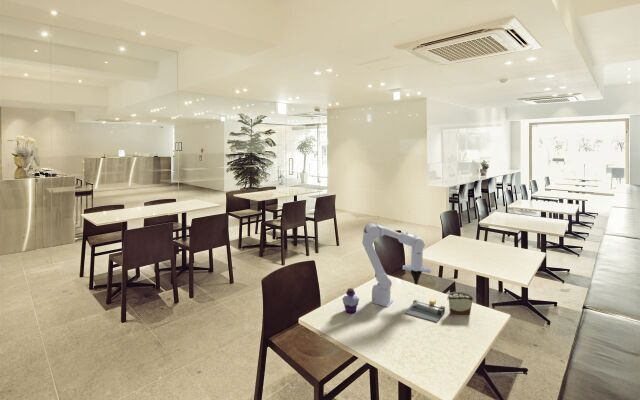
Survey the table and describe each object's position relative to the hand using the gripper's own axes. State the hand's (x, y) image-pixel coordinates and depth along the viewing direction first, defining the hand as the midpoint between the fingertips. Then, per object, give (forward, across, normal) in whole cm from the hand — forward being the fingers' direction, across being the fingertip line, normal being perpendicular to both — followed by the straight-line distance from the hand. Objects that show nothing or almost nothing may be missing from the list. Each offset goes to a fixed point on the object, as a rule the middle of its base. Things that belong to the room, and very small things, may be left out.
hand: (416, 283), depth 179 cm
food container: (+10, +22, -4) cm, 24 cm away
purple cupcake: (+10, -28, -25) cm, 39 cm away
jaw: (+9, +7, -10) cm, 15 cm away
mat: (+10, +6, -11) cm, 16 cm away
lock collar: (+7, +10, -7) cm, 14 cm away
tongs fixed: (+9, +8, -7) cm, 14 cm away
